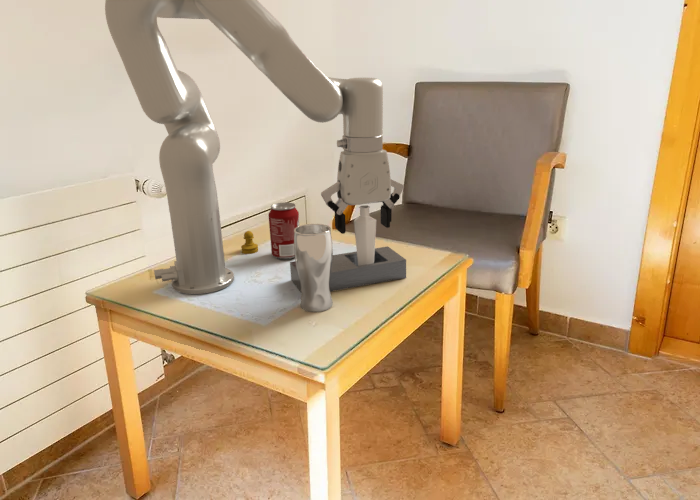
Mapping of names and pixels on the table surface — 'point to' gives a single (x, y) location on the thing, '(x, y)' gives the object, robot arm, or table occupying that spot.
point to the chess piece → (249, 244)
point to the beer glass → (314, 265)
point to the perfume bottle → (365, 236)
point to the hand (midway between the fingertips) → (363, 228)
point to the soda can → (283, 229)
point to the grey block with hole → (360, 270)
